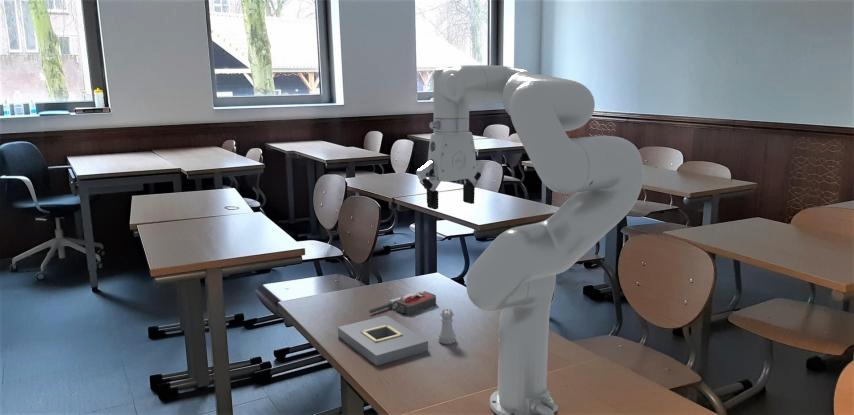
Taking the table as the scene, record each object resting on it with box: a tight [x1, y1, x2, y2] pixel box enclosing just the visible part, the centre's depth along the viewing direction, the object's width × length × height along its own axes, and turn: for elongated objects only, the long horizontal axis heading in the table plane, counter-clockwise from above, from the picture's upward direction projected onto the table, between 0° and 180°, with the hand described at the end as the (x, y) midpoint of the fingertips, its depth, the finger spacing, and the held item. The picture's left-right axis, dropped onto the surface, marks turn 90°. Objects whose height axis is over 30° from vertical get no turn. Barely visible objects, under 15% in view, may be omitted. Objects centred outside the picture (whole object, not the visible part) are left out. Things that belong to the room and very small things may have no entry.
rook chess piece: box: [437, 308, 457, 345], centre depth 156 cm, size 4×4×8 cm
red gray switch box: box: [368, 290, 437, 315], centre depth 179 cm, size 9×4×20 cm
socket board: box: [337, 315, 429, 366], centre depth 156 cm, size 20×14×3 cm
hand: (451, 205), depth 138 cm, fingers open, 9 cm apart
